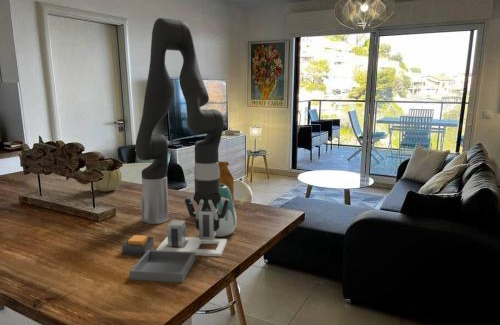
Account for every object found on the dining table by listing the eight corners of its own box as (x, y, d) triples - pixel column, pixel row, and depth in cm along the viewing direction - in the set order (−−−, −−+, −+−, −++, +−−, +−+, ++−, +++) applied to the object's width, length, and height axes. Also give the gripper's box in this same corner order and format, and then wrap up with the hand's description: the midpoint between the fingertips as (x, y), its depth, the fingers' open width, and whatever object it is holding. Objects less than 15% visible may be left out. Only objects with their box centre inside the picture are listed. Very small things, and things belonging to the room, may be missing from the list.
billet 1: (168, 252, 115) (167, 225, 113) (172, 246, 119) (171, 220, 117) (181, 253, 114) (181, 225, 112) (186, 247, 119) (185, 220, 117)
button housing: (123, 257, 111) (122, 245, 110) (132, 247, 118) (132, 236, 117) (145, 259, 110) (144, 246, 109) (153, 249, 117) (153, 237, 116)
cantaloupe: (92, 188, 188) (90, 159, 185) (122, 186, 192) (121, 157, 189) (89, 196, 174) (86, 165, 171) (122, 193, 178) (120, 163, 175)
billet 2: (199, 239, 113) (198, 211, 111) (202, 233, 117) (202, 206, 115) (213, 240, 112) (212, 212, 110) (216, 234, 117) (216, 207, 115)
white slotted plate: (155, 256, 112) (155, 250, 112) (167, 241, 123) (167, 236, 122) (220, 260, 110) (220, 253, 109) (227, 244, 121) (226, 239, 120)
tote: (130, 283, 96) (129, 271, 96) (149, 260, 109) (148, 249, 108) (182, 286, 95) (182, 274, 94) (195, 263, 108) (195, 252, 107)
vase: (241, 229, 134) (241, 181, 130) (229, 241, 123) (229, 190, 120) (212, 225, 138) (211, 178, 134) (198, 237, 127) (196, 186, 123)
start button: (128, 248, 112) (128, 240, 111) (134, 242, 116) (134, 235, 115) (142, 248, 111) (142, 241, 111) (148, 242, 115) (147, 235, 115)
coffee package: (221, 205, 161) (221, 156, 157) (236, 213, 151) (236, 160, 147) (201, 209, 156) (200, 158, 151) (215, 218, 145) (214, 163, 141)
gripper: (180, 178, 108) (182, 233, 111) (228, 180, 107) (228, 235, 110) (187, 173, 115) (188, 224, 119) (232, 174, 114) (232, 226, 117)
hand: (208, 229), depth 114 cm, fingers closed on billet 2, 4 cm apart
